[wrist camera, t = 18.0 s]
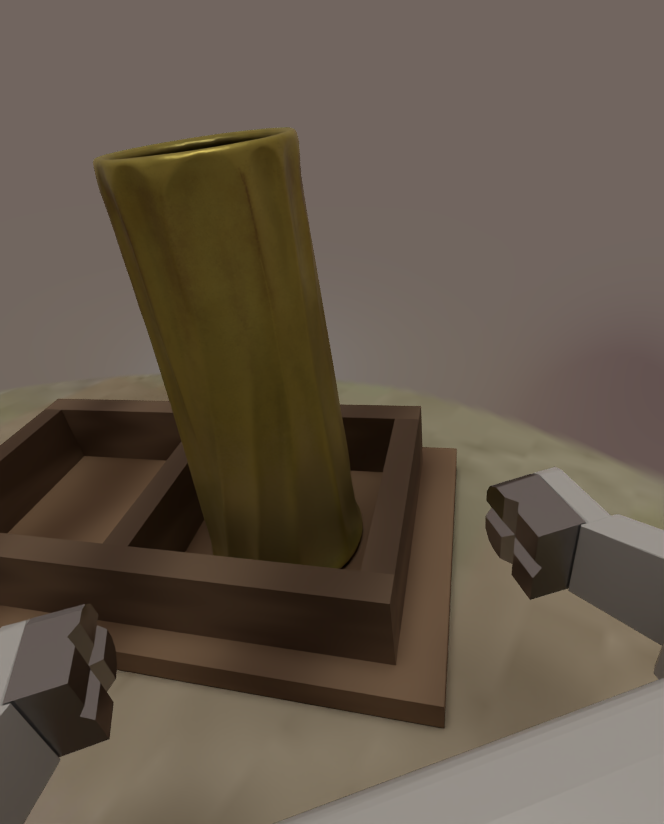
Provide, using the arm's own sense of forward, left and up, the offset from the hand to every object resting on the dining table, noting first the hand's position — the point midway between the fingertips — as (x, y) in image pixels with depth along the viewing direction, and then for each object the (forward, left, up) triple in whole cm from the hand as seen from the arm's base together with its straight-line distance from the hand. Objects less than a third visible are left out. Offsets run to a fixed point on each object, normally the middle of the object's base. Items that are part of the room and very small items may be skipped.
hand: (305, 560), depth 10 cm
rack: (-8, +7, -8) cm, 14 cm away
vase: (-4, +7, -7) cm, 11 cm away
